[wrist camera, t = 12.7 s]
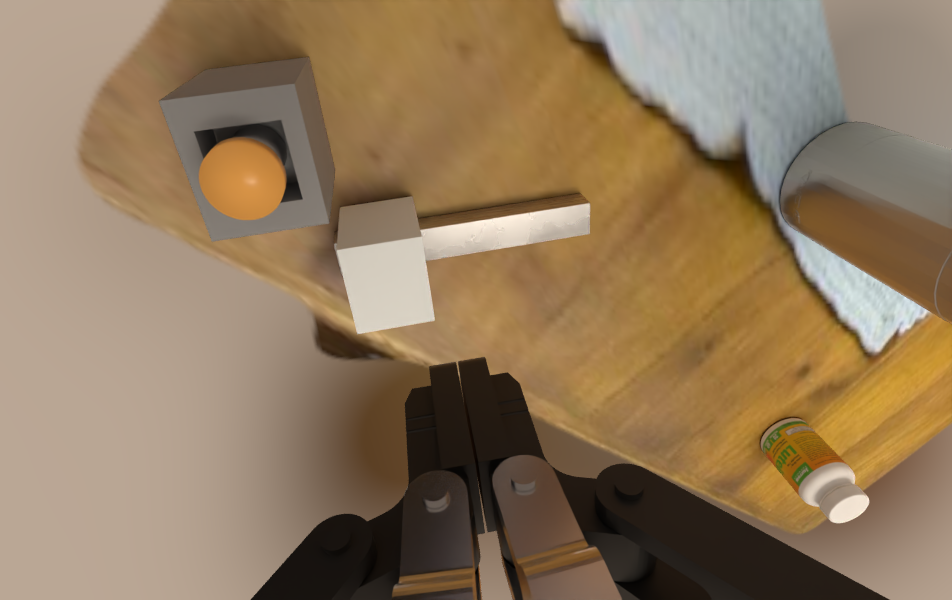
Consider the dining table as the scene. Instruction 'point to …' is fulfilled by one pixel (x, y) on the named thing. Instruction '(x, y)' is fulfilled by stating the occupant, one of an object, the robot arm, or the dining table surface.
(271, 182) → the ball
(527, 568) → the robot arm
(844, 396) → the dining table surface
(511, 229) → the rail
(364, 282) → the carriage
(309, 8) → the dining table surface
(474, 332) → the dining table surface
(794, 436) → the supplement bottle
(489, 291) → the dining table surface
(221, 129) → the grey square housing
